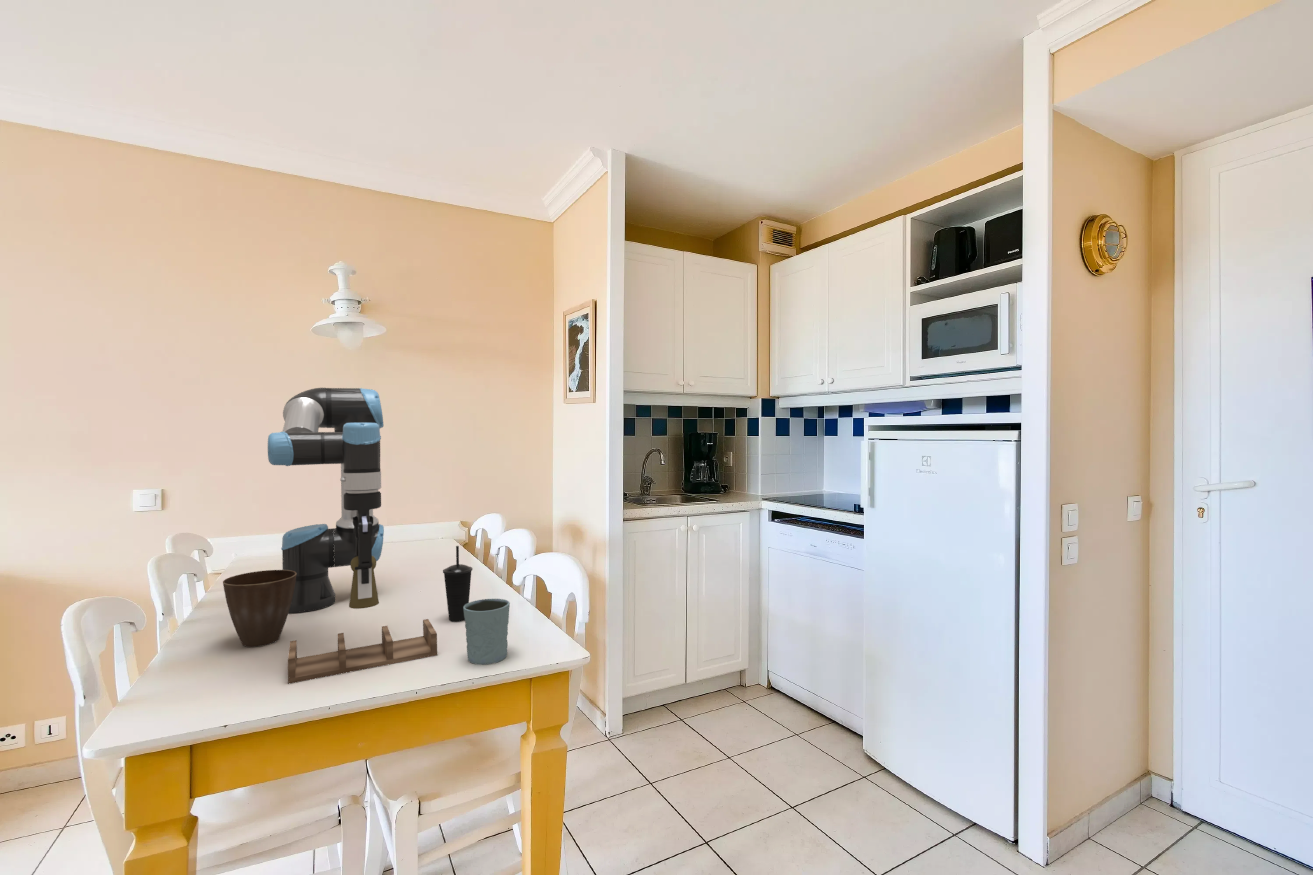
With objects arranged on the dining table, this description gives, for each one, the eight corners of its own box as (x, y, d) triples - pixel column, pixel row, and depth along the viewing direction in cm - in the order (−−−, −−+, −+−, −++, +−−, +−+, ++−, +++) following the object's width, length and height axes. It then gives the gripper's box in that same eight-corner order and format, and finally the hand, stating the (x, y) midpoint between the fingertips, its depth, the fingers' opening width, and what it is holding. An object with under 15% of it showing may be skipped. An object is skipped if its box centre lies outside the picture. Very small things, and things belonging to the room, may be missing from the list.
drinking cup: (456, 625, 153) (455, 549, 153) (437, 620, 157) (436, 546, 157) (479, 617, 160) (478, 544, 159) (460, 612, 164) (459, 542, 163)
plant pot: (303, 628, 152) (302, 567, 152) (289, 648, 138) (288, 581, 138) (236, 635, 147) (234, 572, 147) (214, 656, 133) (212, 587, 133)
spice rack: (290, 663, 129) (290, 641, 129) (428, 639, 143) (428, 618, 143) (288, 683, 118) (287, 659, 118) (437, 655, 133) (436, 633, 133)
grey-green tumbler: (471, 669, 125) (470, 613, 125) (458, 654, 133) (457, 602, 133) (516, 658, 130) (516, 605, 130) (502, 645, 139) (501, 595, 139)
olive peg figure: (346, 604, 131) (345, 555, 131) (375, 599, 135) (374, 551, 135) (352, 610, 126) (351, 559, 126) (382, 604, 130) (381, 555, 130)
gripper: (341, 489, 136) (343, 588, 136) (345, 495, 121) (347, 607, 121) (377, 487, 140) (378, 583, 140) (385, 493, 124) (386, 601, 125)
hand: (364, 594), depth 130 cm, fingers closed on olive peg figure, 5 cm apart
